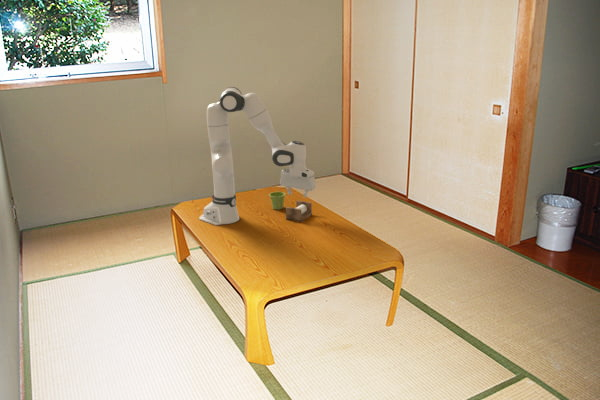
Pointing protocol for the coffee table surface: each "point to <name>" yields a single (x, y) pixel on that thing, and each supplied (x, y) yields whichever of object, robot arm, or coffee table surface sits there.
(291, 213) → the walnut cradle
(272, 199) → the plant pot
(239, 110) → the robot arm
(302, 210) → the paper roll
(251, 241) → the coffee table surface
